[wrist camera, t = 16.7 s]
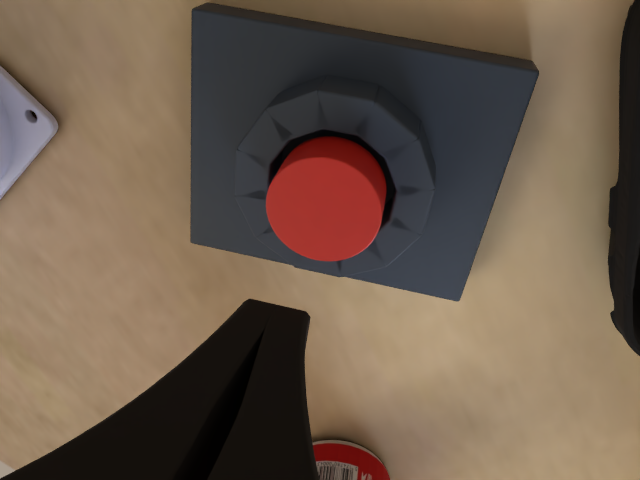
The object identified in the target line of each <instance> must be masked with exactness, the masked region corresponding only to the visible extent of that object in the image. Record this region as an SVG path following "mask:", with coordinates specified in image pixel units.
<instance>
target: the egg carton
mask: <svg viewBox="0 0 640 480" xmlns="http://www.w3.org/2000/svg"><path fill="white" fill-rule="evenodd" d="M608 224H609V227H610V228H611V234H610V244H609V255H608V265H609V279H610V288H611V292H612V296H613V299H614V311H612V312H611V313H610V314H611V318H612V321H613V323H614V325H615V327H616V329H617V330H618V331H619V332H620V333H621V334H622V335H623V337H624V339H625V340H626V342H627V343H628V345H629V346H630V347H631V348H632V350H633V351H634V352H635V353H637V354H638V355H639V356H640V0H635V1H634V3H633V4H632V5H631V6H630V8H629V11H628V16H627V19H626V22H625V26H624V30H623V35H622V42H621V53H620V85H619V172H618V181H617V184H616V186H614V187H612V188H611V189H610V203H609V221H608Z"/></svg>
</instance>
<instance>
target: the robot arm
mask: <svg viewBox="0 0 640 480" xmlns="http://www.w3.org/2000/svg"><path fill="white" fill-rule="evenodd" d="M31 110H32V111H33V112H34V113H35V114H36V115H37V119H36V118H34V117H33V115H32V113H31ZM57 130H58V123H57V121H56V119H55V118H54V116H53V115H52V114H51V113H50V112H49V111H48V110H47V109H45V108H44V107H43V106H42V105H41V104H40V103H39V102H38V101H37V100H36V99H35V98H34V97H33V96H32V95H31V94H30V93H29V92H28V91H27V90H26V89H24V88H23V87H22V86H21V85H20V84H19V83H18V82H17V81H16V80H15V79H14V78H13V77H12V76H11V75H10V74H9V73H8V72H7V71H6V70H5V69H3V68H2V67H1V66H0V199H1V198H2V197H3V196H4V194H5V193H6V192H7V191H8V190H9V188H10V187H11V186H12V185H13V184H14V183H15V181H16V180H17V179H18V178H19V177H20V175H21V174H22V173H23V172H24V171H25V169H26V168H27V167H28V166H29V165H30V163H31V162H32V161H33V160H34V159H35V158H36V156H37V155H38V154H39V153H40V152H41V150H42V149H43V148H44V147H45V146H46V144H47V143H48V142H49V141H50V140H51V138H52V137H53V136H54V135H55V134H56V133H57ZM309 323H310V316H309V315H308V313H307V312H306V311H302V310H297V309H293V308H289V307H284V306H280V305H275V304H271V303H267V302H262V301H258V300H253V299H248V300H246V301H245V302H244V303H243V304H242V305H241V306H240V307H239V308H238V309H237V310H236V311H235V312H234V313H233V314H232V315H231V316H230V317H229V318H228V319H227V320H226V321H225V322H224V323H223V324H222V325H221V326H220V327H219V328H218V329H217V330H216V331H215V332H214V333H213V334H212V335H211V336H210V337H209V338H208V339H207V340H206V341H205V342H204V343H202V344H201V345H200V346H199V347H198V348H197V349H196V350H195V351H193V352H192V353H191V354H190V355H189V356H188V357H187V358H186V359H185V360H183V361H182V362H181V363H180V364H179V365H177V366H176V367H175V368H174V369H172V370H171V371H170V372H169V373H167V374H166V375H165V376H164V377H162V378H161V379H160V380H159V381H157V382H156V383H155V384H154V385H152V386H151V387H150V388H149V389H147V390H146V391H145V392H143V393H142V394H141V395H139V396H138V397H136V398H135V399H134V400H132V401H131V402H130V403H128V404H127V405H125V406H124V407H122V408H121V409H119V410H118V411H116V412H115V413H114V414H112V415H111V416H109V417H108V418H106V419H105V420H103V421H102V422H100V423H98V424H97V425H95V426H94V427H92V428H90V429H89V430H87V431H85V432H84V433H82V434H81V435H79V436H77V437H76V438H74V439H72V440H71V441H69V442H68V443H66V444H64V445H62V446H61V447H59V448H57V449H55V450H54V451H52V452H50V453H48V454H47V455H45V456H43V457H41V458H39V459H37V460H35V461H33V462H31V463H29V464H27V465H26V466H24V467H22V468H20V469H18V470H16V471H14V472H12V473H10V474H8V475H6V476H5V477H3V478H1V479H0V480H320V479H319V474H318V470H317V465H316V460H315V455H314V449H313V444H312V437H311V431H310V424H309V416H308V408H307V398H306V383H305V348H306V341H307V335H308V329H309Z"/></svg>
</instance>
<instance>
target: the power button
mask: <svg viewBox="0 0 640 480" xmlns="http://www.w3.org/2000/svg"><path fill="white" fill-rule="evenodd" d="M386 188H387V186H386V180H385V176H384V173H383V171H382V168H381V166H380V165H379V163H378V161H377V160H376V159H375V158H374V156H373V155H372V154H371V153H370V152H369V151H368V150H366V149H365V148H364V147H362V146H361V145H359V144H357V143H355V142H353V141H351V140H348V139H345V138H341V137H334V136H324V137H317V138H313V139H310V140H307V141H305V142H303V143H301V144H300V145H298V146H297V147H296V148H294V149H293V150H292V151H291V152H290V153H289V155H288V156H287V157H286V159H285V160H284V162H283V164H282V165H281V167H280V168H279V170H278V172H277V173H276V175H275V177H274V178H273V180H272V182H271V184H270V186H269V188H268V191H267V196H266V212H267V216H268V220H269V222H270V225H271V227H272V229H273V230H274V232H275V234H276V235H277V236H278V238H279V239H280V240H281V241H282V242H283V243H284V244H285V245H286V246H288V247H289V248H290V249H292V250H293V251H295V252H296V253H298V254H300V255H302V256H305V257H307V258H310V259H314V260H319V261H339V260H344V259H347V258H351V257H353V256H355V255H357V254H359V253H360V252H362V251H363V250H364V249H366V248H367V247H368V246H369V245H370V244H371V243H372V242H373V240H374V239H375V237H376V236H377V234H378V231H379V229H380V226H381V221H382V216H383V210H384V205H385V200H386Z"/></svg>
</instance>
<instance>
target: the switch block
mask: <svg viewBox="0 0 640 480" xmlns="http://www.w3.org/2000/svg"><path fill="white" fill-rule="evenodd" d="M538 75H539V71H538V69H537V67H536V66H535V64H534V63H533V62H532V61H531V60H525V59H519V58H514V57H508V56H503V55H497V54H492V53H486V52H481V51H475V50H469V49H464V48H458V47H453V46H447V45H442V44H436V43H430V42H425V41H419V40H414V39H408V38H403V37H397V36H392V35H386V34H380V33H375V32H369V31H364V30H358V29H353V28H347V27H341V26H336V25H330V24H325V23H319V22H314V21H308V20H303V19H297V18H291V17H286V16H280V15H275V14H269V13H264V12H258V11H252V10H247V9H241V8H236V7H230V6H225V5H219V4H214V3H205V4H203V5H200V6H198V7H195V8H193V9H192V49H191V243H194V244H198V245H203V246H207V247H212V248H217V249H221V250H226V251H230V252H235V253H239V254H244V255H248V256H253V257H258V258H262V259H267V260H271V261H276V262H280V263H285V264H289V265H293V266H294V267H296V268H300V269H305V270H309V271H314V272H318V273H323V274H327V275H332V276H337V277H348V278H353V279H358V280H362V281H367V282H371V283H376V284H380V285H385V286H389V287H394V288H398V289H403V290H408V291H412V292H417V293H421V294H426V295H430V296H435V297H439V298H444V299H449V300H453V301H459V300H460V298H461V295H462V293H463V290H464V287H465V284H466V281H467V278H468V275H469V273H470V270H471V267H472V264H473V261H474V258H475V255H476V253H477V250H478V247H479V244H480V241H481V238H482V235H483V233H484V230H485V227H486V224H487V221H488V218H489V215H490V213H491V210H492V207H493V204H494V201H495V198H496V195H497V193H498V190H499V187H500V184H501V181H502V178H503V175H504V173H505V170H506V167H507V164H508V161H509V158H510V155H511V152H512V150H513V147H514V144H515V141H516V138H517V135H518V132H519V130H520V127H521V124H522V121H523V118H524V115H525V112H526V110H527V107H528V104H529V101H530V98H531V95H532V92H533V90H534V87H535V84H536V81H537V78H538ZM324 136H334V137H341V138H345V139H348V140H351V141H353V142H355V143H357V144H359V145H361V146H362V147H364V148H365V149H366V150H368V151H369V152H370V153H371V154H372V155H373V156H374V158H375V159H376V160H377V161H378V163H379V165H380V166H381V168H382V171H383V173H384V176H385V180H386V186H387V188H386V200H385V205H384V210H383V216H382V221H381V226H380V229H379V231H378V234H377V236H376V237H375V239H374V240H373V242H372V243H371V244H370V245H369V246H368V247H367V248H366V249H364V250H363V251H362V252H360V253H359V254H357V255H355V256H353V257H351V258H347V259H344V260H339V261H319V260H314V259H310V258H307V257H305V256H302V255H300V254H298V253H296V252H295V251H293V250H292V249H290V248H289V247H288V246H286V245H285V244H284V243H283V242H282V241H281V240H280V239H279V238H278V236H277V235H276V234H275V232H274V230H273V229H272V227H271V225H270V222H269V220H268V216H267V212H266V196H267V191H268V188H269V186H270V184H271V182H272V180H273V178H274V177H275V175H276V173H277V172H278V170H279V168H280V167H281V165H282V164H283V162H284V160H285V159H286V157H287V156H288V155H289V153H290V152H291V151H292V150H293V149H294V148H296V147H297V146H298V145H300V144H301V143H303V142H305V141H307V140H310V139H313V138H317V137H324Z"/></svg>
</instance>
